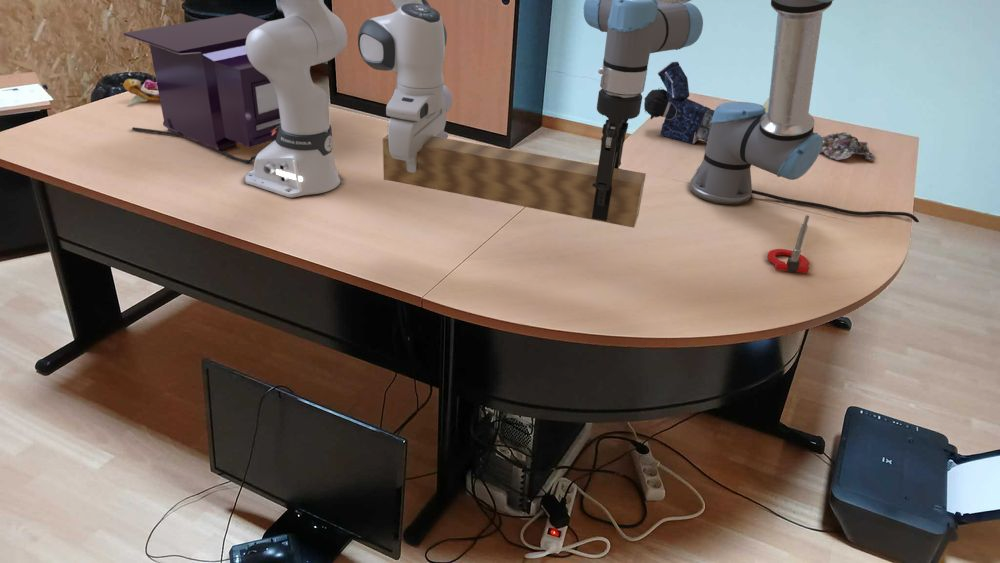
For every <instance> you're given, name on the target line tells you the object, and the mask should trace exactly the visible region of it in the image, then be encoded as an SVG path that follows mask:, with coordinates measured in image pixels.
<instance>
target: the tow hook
mask: <svg viewBox="0 0 1000 563" xmlns="http://www.w3.org/2000/svg"><path fill="white" fill-rule="evenodd" d="M809 220H810V215H808V214H805V216H804V219H803V223H802V224H801V226H800V229H799V231H798V236H797V239H796V242H795V246H794V247H793V249H792V250H791V249H786V248H774V249H771V250H769V251H768V252H767V260H769V261H770V263H772V264H773V265H774V269H775V270H777V271H786V272H789V273H800V274H801V273H802V274H808V273H809V269H810V268H809V263H810V262H809V260H808V258H807V257H806V256H805V255H803V254H802V246H803V243H804V239H805V237H806V234H807V230H808V223H809ZM781 255H782V256H789V257H788V259H787V262H785V261H783V260H781V259H779V258H778V257H776V256H781Z"/></svg>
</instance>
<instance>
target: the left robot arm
mask: <svg viewBox="0 0 1000 563" xmlns="http://www.w3.org/2000/svg"><path fill="white" fill-rule="evenodd" d="M275 1H276V2H277V4H278V5H279V7H280V8H281V11H282V13H283V16H284V18H278V19H274V20H268V21H269V22H266V23H264V24H262V25H261V26H259V27H257V28H255V29H254V30H252V31H251V32H250V33H249V34H248V36H247V39H246V53H247V56H248V59H249V61H250V62H251V64H252V65H253V67H254V68H255V69H256V70H257V71H259V72H260V73H262V74H263V75H265V76H266V77H267V78H268V79H269V81H270V82H271V84H272V86H273V88H274V90H275V92H276V96H277V100H278V106H279V113H280V121H281V125H279V126H277V127H276V129H274V130H272V131H271V132H273V131H274V132H273V133H272V136H273V135H275V134H276V133H277V137H276V139H275V140H272V142H270V143H269V144H268V145H266V146H265V147H264V148H262V149H261V150H260V151H259V152H258V153H257V154H256V155H252V156H251V157H250V158H249V159H242V158H238V157H236V156H234V155H231V154H230V153H227V152H226V151H222V150H219V152H220V153H219V152H218V153H219V154H221V155H223V156H225V157H227V158H230V159H231V160H234V161H237V162H240V163H245V164H250V163H253V160H254V163H253V168H252V169H251V170H250V171H248V172H247V174H246V175H245V178H244V181H245V184H247V185H251V186H254V187H257V188H260V189H261V190H266V191H268V192H271V193H275V194H277V195H280V196H284V197H287V198H291V199H293V198H299V197H303V196H310V195H311V196H312V195H318V194H323V193H326V192H330V191H332V190H334V189H336V188H338V186H340V184H341V178H340V176H339V173H338V171H337V166H336V163H335V157H334V153H333V148H334V147H333V146H334V141H333V128H332V125H331V124H330V108H329V96H328V93H327V92H326V90H324V89H323V88H322V87H321V86H319V85H318V84H316V83H314V82H313V79H312V76H311V67H314V66H316V65H320V64H323V63H326V62H330V61H331V60H333V59H335V58H336V57H337V56H339V55H340V54H342V53H343V52H344V51H345V49H346V47H347V45H348V32H347V29H346V26H345V24H344V21H342V19H341V18H340V17H339V16H338V15H337V14H335V13H334V12H332V11H331V10H330V9H329V7H328V6H327V5H326V4H325V2H324V1H323V0H275ZM390 1H391V3H392V4H393V6H394V8H395V10H396V11H393V12H391V13H388V14H385V15H384V14H383V15H379V16H375V17H371V18H369V19H366V20H364V22H363V23H362V24H361V26H360V28H359V31H358V35H357V47H358V52H359V55H360V57H361V59H362V60H363V61H364V63H365V64H367V66H368V67H370V68H372V69H373V70H375V71H386V72H387V71H392V72H394V73H395V74H396V79H395V80H396V81H395V82H396V83H395V89H394V90H393V94H392V96H391V98H390V99H389V101H388V103H387V104H386V107H385V114H386V116H387V117H390V118H389V120H388V125H387V135H388V139H389V152H390V154H391V156H392V158H394V159H399V160H405V161H406V163H407V171H408V172H412V173H415V172H416V171H417V170H418V162H416V156H417V152H418V151H420V150H421V149H422V148H423V145H424V144H425V143H426V142H427V141H429V140H430V139H431V138H432V137H433V136H434V137H435V136H436V135H437V134H439V133H440V132H441V131H442V130H443V129H444V130H445V127H446V124H447V113H446V102H445V97H444V96H443V93H444V85H445V79H444V78H445V77H444V74H443V65H444V62H445V56H446V55H445V54H446V49H445V48H446V46H447V39H448V34H447V28H446V26H445V22H444V21H443V18H442V15H441V13H440V12H439V11H438V10H437V9H435V7H432V6H431V5H430V3H429V2H428V1H427V0H390ZM131 130H133V131H137V132H146V133H154V134H160V135H161V134H162V135H167V136H175V137H176V136H177V137H182V136H183V135H182V134H180V133H173V132H170V131H165V130H159V129H158V130H157V129H149V128H144V127H143V128H142V127H135V126H133V127H132V128H131Z"/></svg>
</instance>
